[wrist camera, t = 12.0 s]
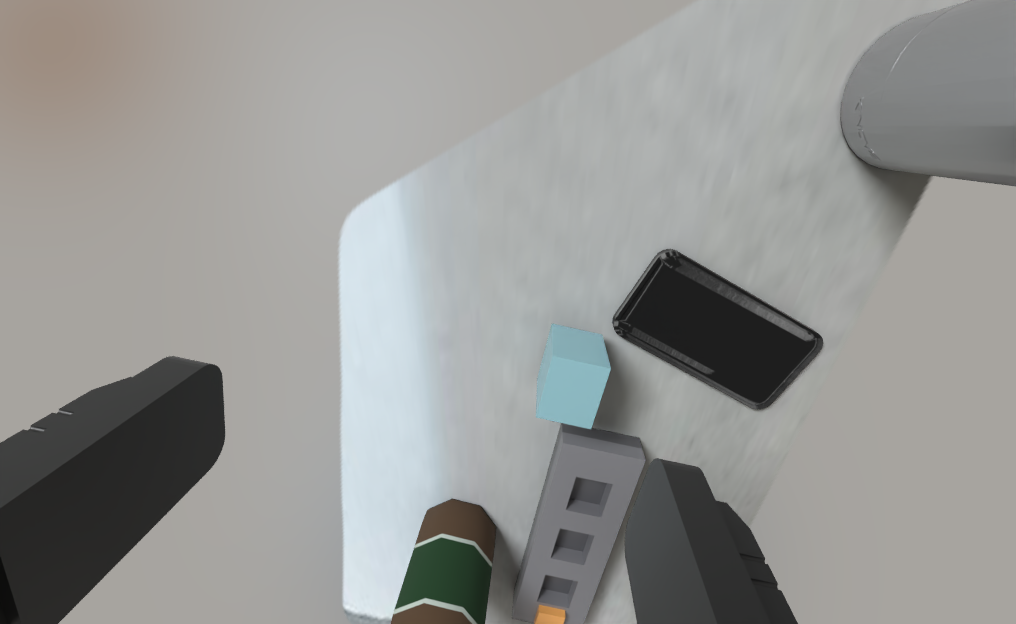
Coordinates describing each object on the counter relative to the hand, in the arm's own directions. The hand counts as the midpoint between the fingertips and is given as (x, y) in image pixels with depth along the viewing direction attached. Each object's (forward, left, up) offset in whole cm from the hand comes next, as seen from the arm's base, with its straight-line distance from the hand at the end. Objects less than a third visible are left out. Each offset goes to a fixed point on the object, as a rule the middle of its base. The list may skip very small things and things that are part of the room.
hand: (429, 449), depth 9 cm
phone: (-9, +16, -29) cm, 34 cm away
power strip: (+10, +29, -28) cm, 42 cm away
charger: (+2, +12, -28) cm, 31 cm away
